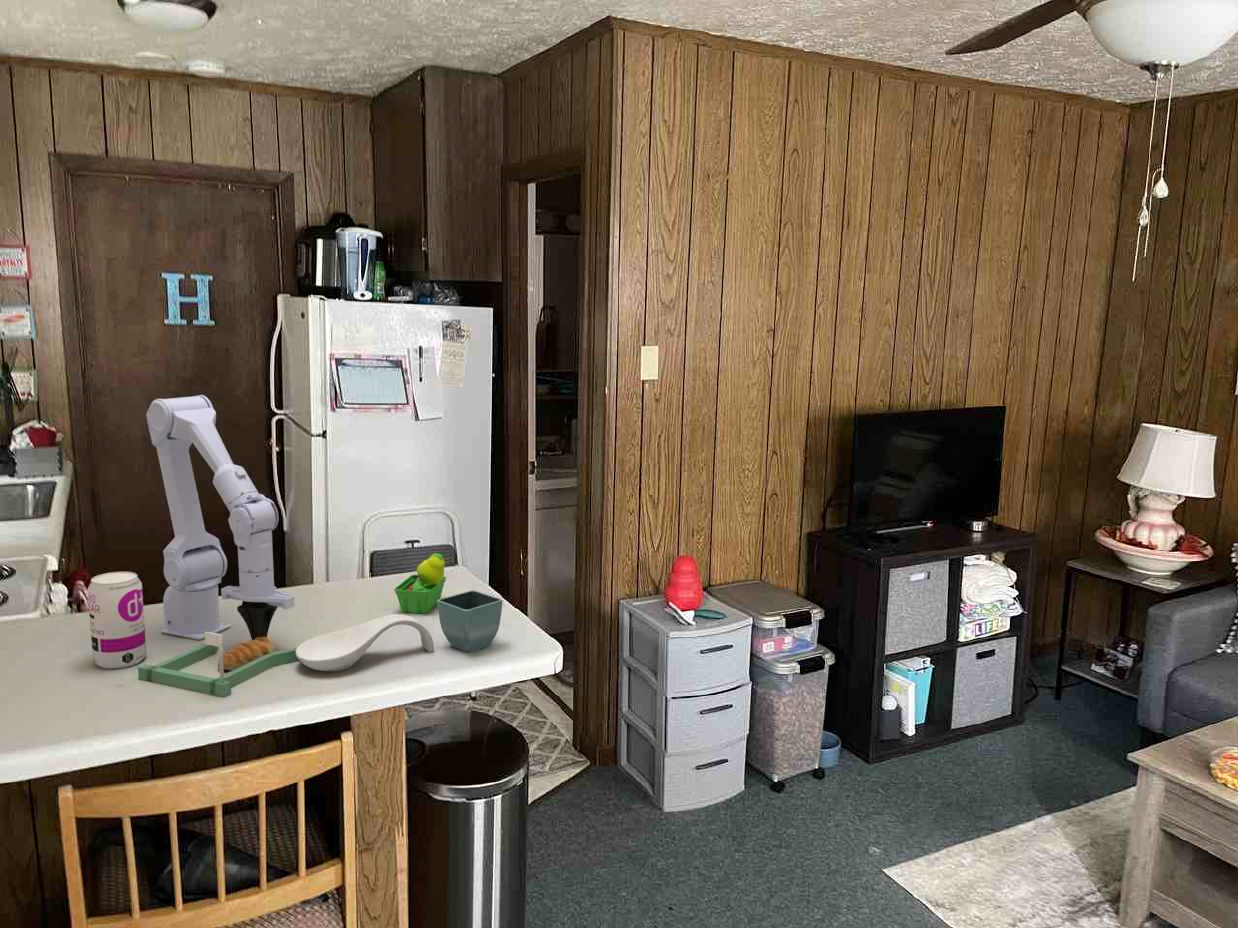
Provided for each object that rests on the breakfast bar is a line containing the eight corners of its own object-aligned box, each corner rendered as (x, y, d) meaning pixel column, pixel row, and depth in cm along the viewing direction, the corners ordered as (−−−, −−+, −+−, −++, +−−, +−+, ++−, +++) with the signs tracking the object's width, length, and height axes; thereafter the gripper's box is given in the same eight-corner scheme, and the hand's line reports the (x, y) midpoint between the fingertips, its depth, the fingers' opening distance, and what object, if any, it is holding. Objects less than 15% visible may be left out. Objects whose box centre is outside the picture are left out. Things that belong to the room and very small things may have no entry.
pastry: (233, 676, 164) (231, 655, 163) (209, 667, 168) (207, 646, 167) (280, 660, 172) (279, 639, 171) (256, 651, 175) (255, 631, 175)
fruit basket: (412, 596, 208) (411, 545, 206) (453, 599, 207) (452, 547, 205) (393, 614, 197) (392, 559, 195) (435, 616, 195) (435, 562, 194)
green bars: (135, 678, 162) (131, 620, 161) (217, 642, 179) (214, 589, 177) (227, 697, 156) (224, 637, 154) (303, 658, 172) (301, 604, 170)
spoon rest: (305, 684, 162) (304, 643, 161) (289, 661, 172) (287, 621, 171) (441, 659, 174) (441, 620, 173) (419, 638, 184) (418, 602, 183)
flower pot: (435, 646, 180) (435, 599, 178) (473, 634, 186) (473, 589, 184) (465, 659, 174) (465, 610, 172) (504, 646, 180) (504, 599, 178)
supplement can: (157, 656, 172) (151, 573, 169) (119, 673, 164) (113, 586, 162) (121, 649, 175) (115, 568, 172) (82, 666, 167) (75, 581, 164)
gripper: (304, 567, 174) (307, 640, 177) (239, 557, 179) (243, 628, 182) (277, 577, 168) (280, 653, 170) (210, 567, 173) (215, 641, 175)
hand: (259, 641), depth 176 cm, fingers closed
